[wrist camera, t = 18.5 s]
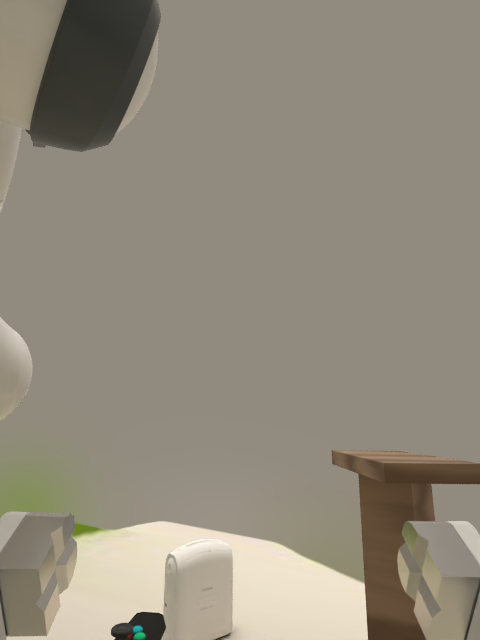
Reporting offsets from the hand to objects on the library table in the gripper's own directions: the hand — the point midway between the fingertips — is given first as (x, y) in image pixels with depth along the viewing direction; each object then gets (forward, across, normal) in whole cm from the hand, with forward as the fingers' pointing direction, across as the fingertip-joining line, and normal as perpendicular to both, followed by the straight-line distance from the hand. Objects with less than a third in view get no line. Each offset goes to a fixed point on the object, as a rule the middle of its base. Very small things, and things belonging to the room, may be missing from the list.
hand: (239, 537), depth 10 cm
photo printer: (+33, +3, +50) cm, 60 cm away
